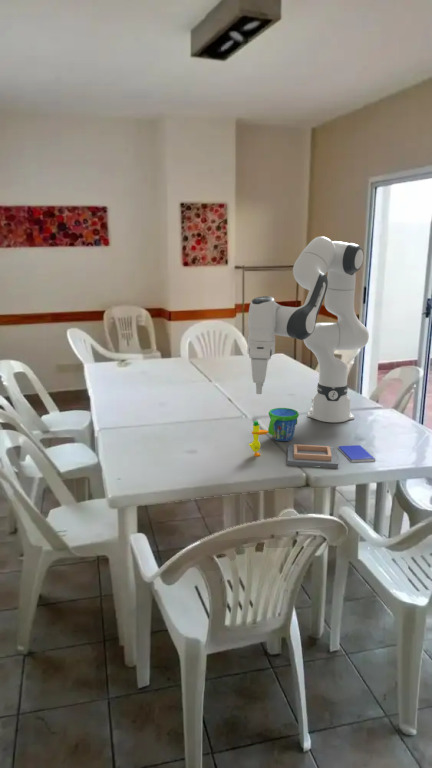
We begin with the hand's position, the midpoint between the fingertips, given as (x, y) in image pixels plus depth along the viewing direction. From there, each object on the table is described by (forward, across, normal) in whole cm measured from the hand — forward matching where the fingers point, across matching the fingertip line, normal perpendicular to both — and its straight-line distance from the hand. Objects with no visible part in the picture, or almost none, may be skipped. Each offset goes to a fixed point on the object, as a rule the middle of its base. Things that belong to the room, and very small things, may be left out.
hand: (259, 389), depth 184 cm
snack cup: (+23, -18, +8) cm, 30 cm away
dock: (+23, 0, +18) cm, 29 cm away
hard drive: (+24, -6, +33) cm, 41 cm away
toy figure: (+23, 0, 0) cm, 23 cm away
